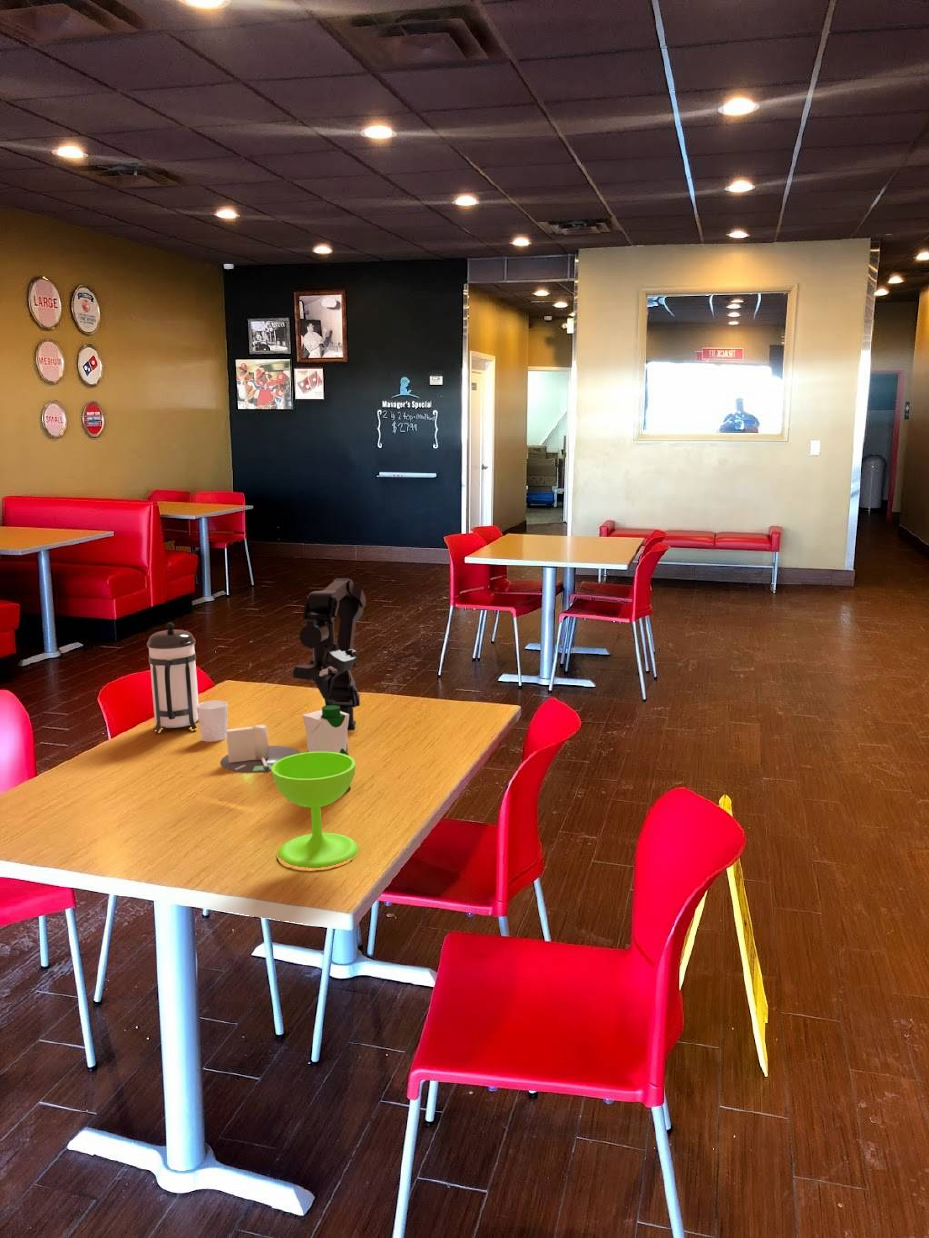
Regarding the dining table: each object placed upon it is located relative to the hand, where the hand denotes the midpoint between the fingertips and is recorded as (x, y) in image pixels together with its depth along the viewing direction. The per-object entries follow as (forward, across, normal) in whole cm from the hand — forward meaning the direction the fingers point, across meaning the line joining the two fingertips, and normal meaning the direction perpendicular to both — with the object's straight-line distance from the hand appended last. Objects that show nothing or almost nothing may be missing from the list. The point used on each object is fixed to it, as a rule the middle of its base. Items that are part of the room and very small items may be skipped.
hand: (326, 698), depth 250 cm
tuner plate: (+12, -20, +5) cm, 24 cm away
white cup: (+12, -14, +28) cm, 34 cm away
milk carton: (+13, -25, -22) cm, 36 cm away
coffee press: (+12, -11, +45) cm, 48 cm away
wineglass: (+14, -52, -43) cm, 69 cm away
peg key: (+11, -24, +3) cm, 27 cm away
